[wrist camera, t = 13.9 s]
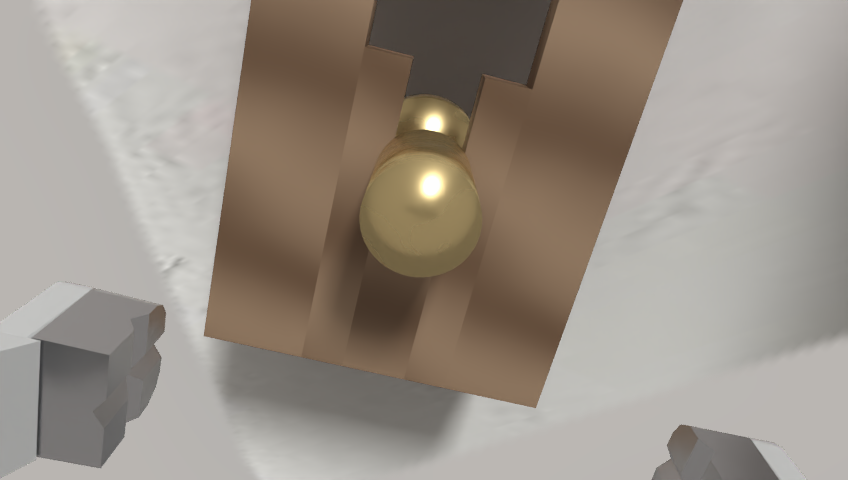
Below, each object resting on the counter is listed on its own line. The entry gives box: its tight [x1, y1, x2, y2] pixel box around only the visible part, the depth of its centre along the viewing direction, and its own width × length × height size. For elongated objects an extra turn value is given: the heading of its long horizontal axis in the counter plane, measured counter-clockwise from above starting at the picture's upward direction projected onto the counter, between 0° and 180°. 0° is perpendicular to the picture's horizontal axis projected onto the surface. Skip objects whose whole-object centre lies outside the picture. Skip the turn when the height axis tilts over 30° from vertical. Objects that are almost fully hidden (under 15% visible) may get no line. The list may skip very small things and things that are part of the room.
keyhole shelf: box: [204, 0, 683, 408], centre depth 27 cm, size 24×14×10 cm, turn 166°
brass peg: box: [360, 94, 482, 277], centre depth 23 cm, size 5×5×10 cm
